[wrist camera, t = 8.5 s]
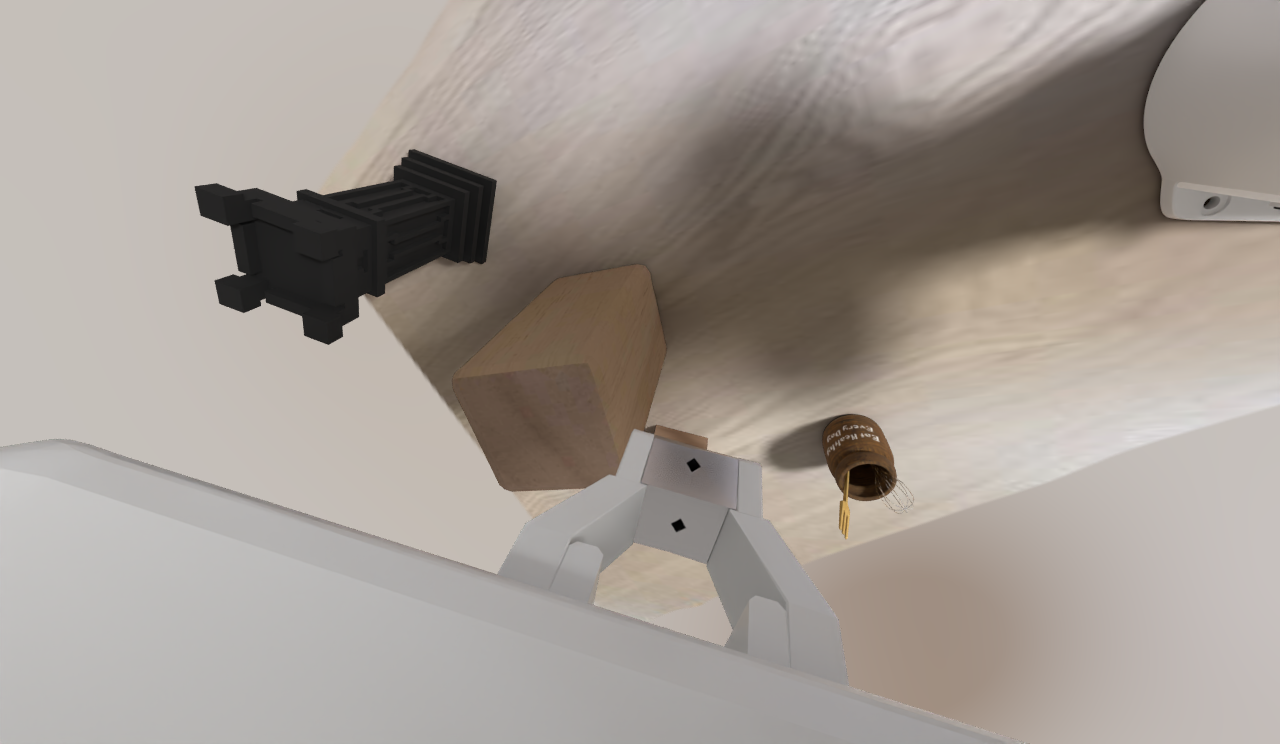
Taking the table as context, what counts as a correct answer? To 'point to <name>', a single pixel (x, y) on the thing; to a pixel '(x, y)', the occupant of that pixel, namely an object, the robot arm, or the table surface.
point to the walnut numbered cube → (681, 437)
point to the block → (567, 381)
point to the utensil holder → (859, 462)
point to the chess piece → (348, 239)
